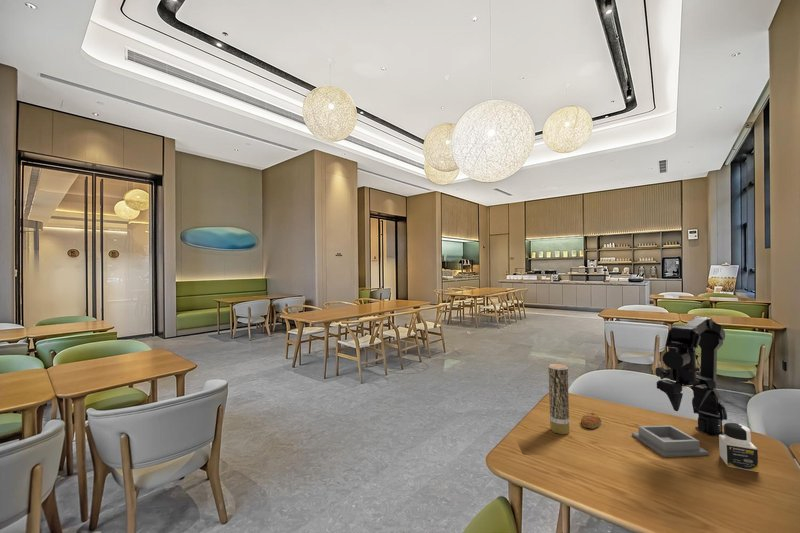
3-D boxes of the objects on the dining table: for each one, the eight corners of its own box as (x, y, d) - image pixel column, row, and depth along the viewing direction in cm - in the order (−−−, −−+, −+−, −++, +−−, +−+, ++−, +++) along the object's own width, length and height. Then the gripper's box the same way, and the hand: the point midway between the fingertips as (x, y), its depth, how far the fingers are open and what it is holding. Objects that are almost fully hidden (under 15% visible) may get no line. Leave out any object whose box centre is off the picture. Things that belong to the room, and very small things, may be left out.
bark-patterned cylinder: (565, 427, 137) (563, 363, 137) (572, 435, 130) (570, 368, 130) (547, 427, 137) (546, 363, 138) (553, 435, 131) (551, 368, 131)
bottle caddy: (671, 434, 129) (671, 423, 129) (708, 455, 114) (707, 442, 114) (632, 435, 129) (631, 424, 129) (663, 456, 114) (663, 444, 114)
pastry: (597, 432, 133) (597, 421, 133) (578, 427, 137) (577, 417, 137) (602, 423, 140) (601, 413, 140) (583, 419, 144) (583, 410, 144)
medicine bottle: (727, 466, 107) (725, 427, 108) (719, 455, 114) (717, 419, 114) (758, 472, 104) (757, 432, 104) (748, 460, 110) (747, 423, 111)
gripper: (682, 355, 128) (684, 398, 128) (641, 360, 124) (643, 403, 124) (716, 363, 118) (718, 409, 117) (671, 368, 113) (673, 416, 113)
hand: (686, 409), depth 118 cm, fingers open, 9 cm apart
